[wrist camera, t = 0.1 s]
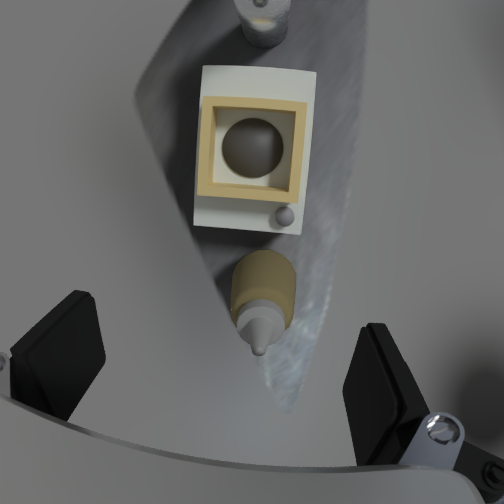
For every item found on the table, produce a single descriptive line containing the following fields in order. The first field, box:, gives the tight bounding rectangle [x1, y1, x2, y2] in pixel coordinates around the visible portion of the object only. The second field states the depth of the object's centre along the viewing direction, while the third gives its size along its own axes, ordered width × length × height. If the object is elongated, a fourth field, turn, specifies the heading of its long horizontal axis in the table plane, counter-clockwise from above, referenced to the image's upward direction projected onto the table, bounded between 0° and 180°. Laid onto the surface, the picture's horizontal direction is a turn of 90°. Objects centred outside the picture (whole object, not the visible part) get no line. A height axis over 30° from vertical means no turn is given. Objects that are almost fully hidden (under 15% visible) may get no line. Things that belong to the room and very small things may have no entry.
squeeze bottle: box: [230, 249, 296, 356], centre depth 34 cm, size 8×8×18 cm
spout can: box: [234, 0, 291, 48], centre depth 25 cm, size 6×6×14 cm
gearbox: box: [194, 65, 316, 235], centre depth 33 cm, size 18×12×9 cm, turn 176°
